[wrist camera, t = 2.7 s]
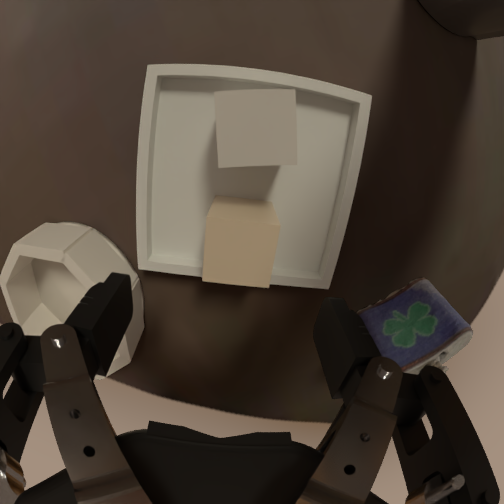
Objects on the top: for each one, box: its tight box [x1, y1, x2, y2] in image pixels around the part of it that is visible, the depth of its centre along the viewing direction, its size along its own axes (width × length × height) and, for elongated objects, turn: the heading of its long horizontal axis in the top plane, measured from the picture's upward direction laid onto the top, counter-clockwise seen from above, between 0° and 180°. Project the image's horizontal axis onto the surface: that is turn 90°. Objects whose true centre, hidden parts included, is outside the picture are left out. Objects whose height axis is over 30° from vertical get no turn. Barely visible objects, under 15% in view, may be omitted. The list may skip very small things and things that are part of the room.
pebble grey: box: [214, 89, 297, 168], centre depth 15 cm, size 4×4×5 cm
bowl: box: [0, 222, 145, 380], centre depth 21 cm, size 14×14×5 cm
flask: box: [356, 277, 473, 375], centre depth 20 cm, size 9×3×11 cm, turn 118°
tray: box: [136, 64, 372, 289], centre depth 18 cm, size 15×15×2 cm
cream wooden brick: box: [202, 195, 281, 288], centre depth 18 cm, size 4×4×5 cm
